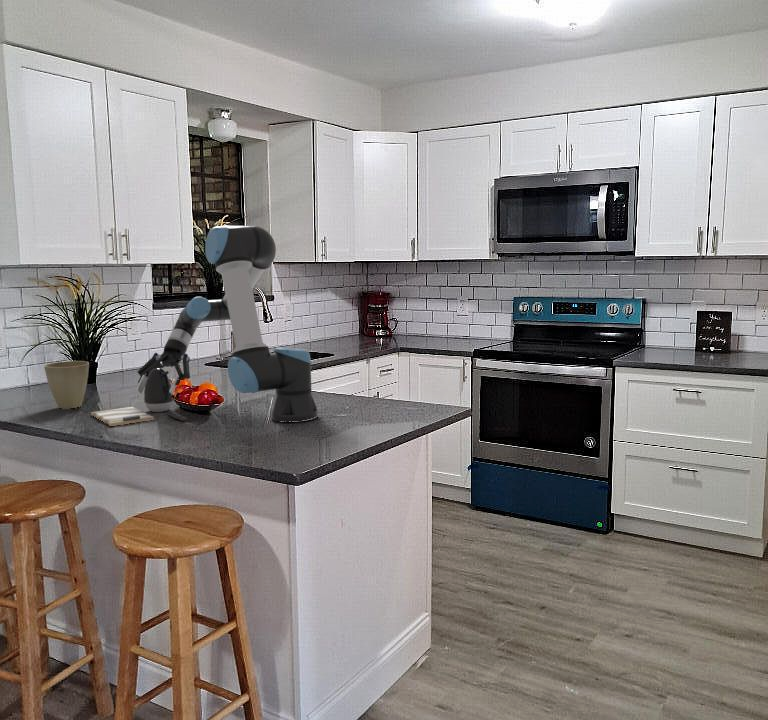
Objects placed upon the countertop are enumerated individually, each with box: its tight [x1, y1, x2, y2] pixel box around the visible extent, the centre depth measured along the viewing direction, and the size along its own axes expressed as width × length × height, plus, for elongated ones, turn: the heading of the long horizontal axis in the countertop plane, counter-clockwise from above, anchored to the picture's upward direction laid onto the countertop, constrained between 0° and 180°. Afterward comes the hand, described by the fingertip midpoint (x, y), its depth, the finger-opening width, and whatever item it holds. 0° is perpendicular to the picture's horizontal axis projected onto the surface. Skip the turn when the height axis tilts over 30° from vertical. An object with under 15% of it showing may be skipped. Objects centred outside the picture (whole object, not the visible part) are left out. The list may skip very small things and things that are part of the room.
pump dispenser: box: [143, 368, 175, 413], centre depth 258 cm, size 10×10×15 cm
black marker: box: [167, 410, 187, 422], centre depth 246 cm, size 14×2×2 cm, turn 36°
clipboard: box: [90, 406, 155, 427], centre depth 249 cm, size 22×14×2 cm, turn 36°
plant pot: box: [43, 360, 90, 410], centre depth 267 cm, size 15×15×16 cm
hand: (154, 393), depth 256 cm, fingers open, 13 cm apart
